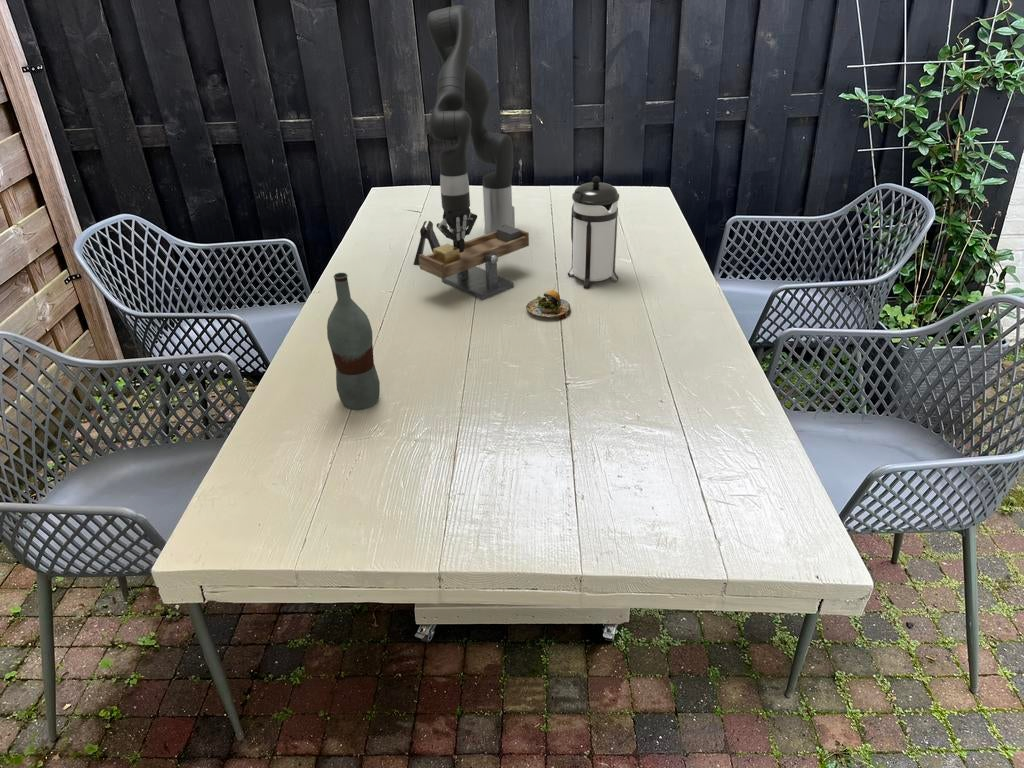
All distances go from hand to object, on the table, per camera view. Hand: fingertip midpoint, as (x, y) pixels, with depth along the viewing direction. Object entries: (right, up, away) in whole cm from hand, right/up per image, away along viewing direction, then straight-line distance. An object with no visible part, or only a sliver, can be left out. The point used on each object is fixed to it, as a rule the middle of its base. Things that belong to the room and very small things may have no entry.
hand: (459, 251), depth 205 cm
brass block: (-3, -3, -1) cm, 5 cm away
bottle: (-19, -40, -41) cm, 60 cm away
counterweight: (+14, +6, +12) cm, 19 cm away
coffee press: (+37, -6, +12) cm, 39 cm away
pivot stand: (+5, -8, +10) cm, 13 cm away
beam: (+4, -1, +5) cm, 7 cm away
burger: (+24, -18, -6) cm, 31 cm away
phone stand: (-11, +1, +26) cm, 28 cm away
